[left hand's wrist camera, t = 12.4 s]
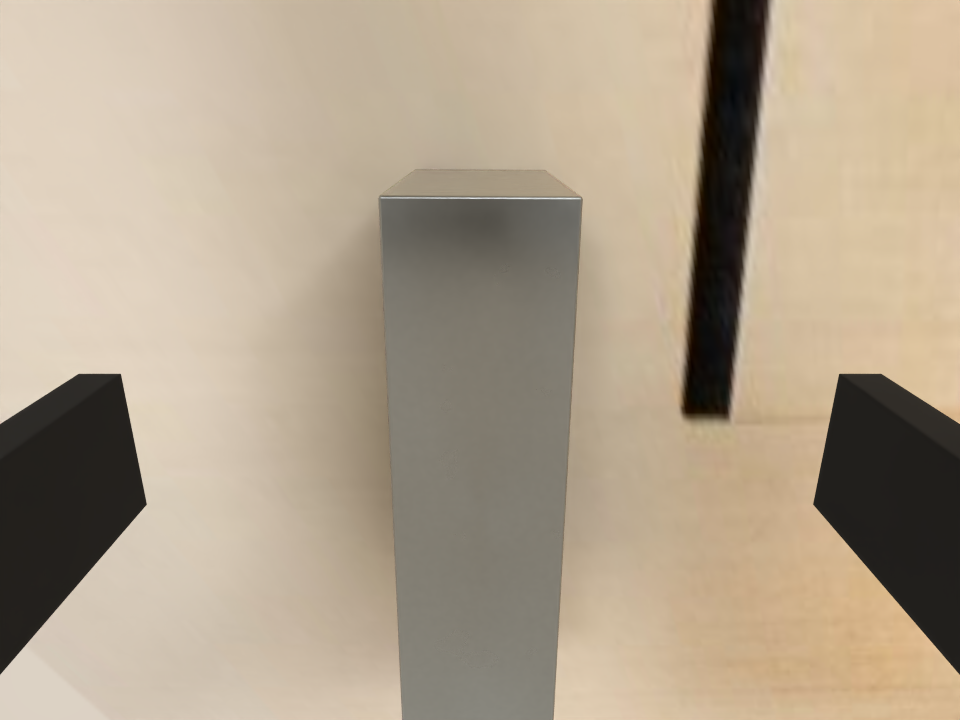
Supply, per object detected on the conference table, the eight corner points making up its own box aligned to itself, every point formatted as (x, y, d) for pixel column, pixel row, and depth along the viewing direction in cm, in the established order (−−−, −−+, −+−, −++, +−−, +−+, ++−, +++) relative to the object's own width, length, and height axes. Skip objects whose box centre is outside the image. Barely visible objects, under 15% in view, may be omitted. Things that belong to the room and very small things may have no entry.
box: (413, 169, 30) (378, 195, 19) (546, 170, 30) (583, 196, 19) (424, 563, 37) (402, 738, 27) (531, 563, 37) (552, 739, 27)
